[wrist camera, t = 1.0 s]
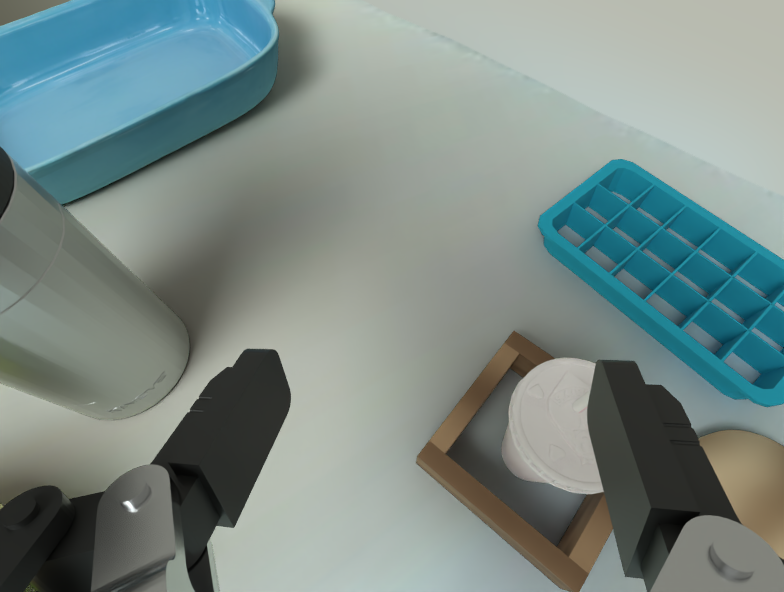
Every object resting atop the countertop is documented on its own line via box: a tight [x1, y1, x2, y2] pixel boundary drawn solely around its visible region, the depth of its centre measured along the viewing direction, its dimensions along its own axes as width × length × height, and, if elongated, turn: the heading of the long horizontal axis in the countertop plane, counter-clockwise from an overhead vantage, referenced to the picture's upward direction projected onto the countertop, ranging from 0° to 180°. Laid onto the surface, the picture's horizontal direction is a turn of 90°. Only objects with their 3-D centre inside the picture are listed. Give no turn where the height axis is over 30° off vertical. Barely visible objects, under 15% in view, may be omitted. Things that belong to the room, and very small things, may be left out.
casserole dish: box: [0, 0, 279, 205], centre depth 44 cm, size 37×22×7 cm, turn 128°
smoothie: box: [501, 358, 604, 494], centre depth 23 cm, size 6×6×14 cm
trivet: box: [698, 430, 784, 559], centre depth 27 cm, size 9×9×1 cm
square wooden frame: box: [416, 331, 613, 592], centre depth 28 cm, size 11×11×3 cm
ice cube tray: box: [538, 159, 784, 407], centre depth 34 cm, size 12×20×3 cm, turn 40°
